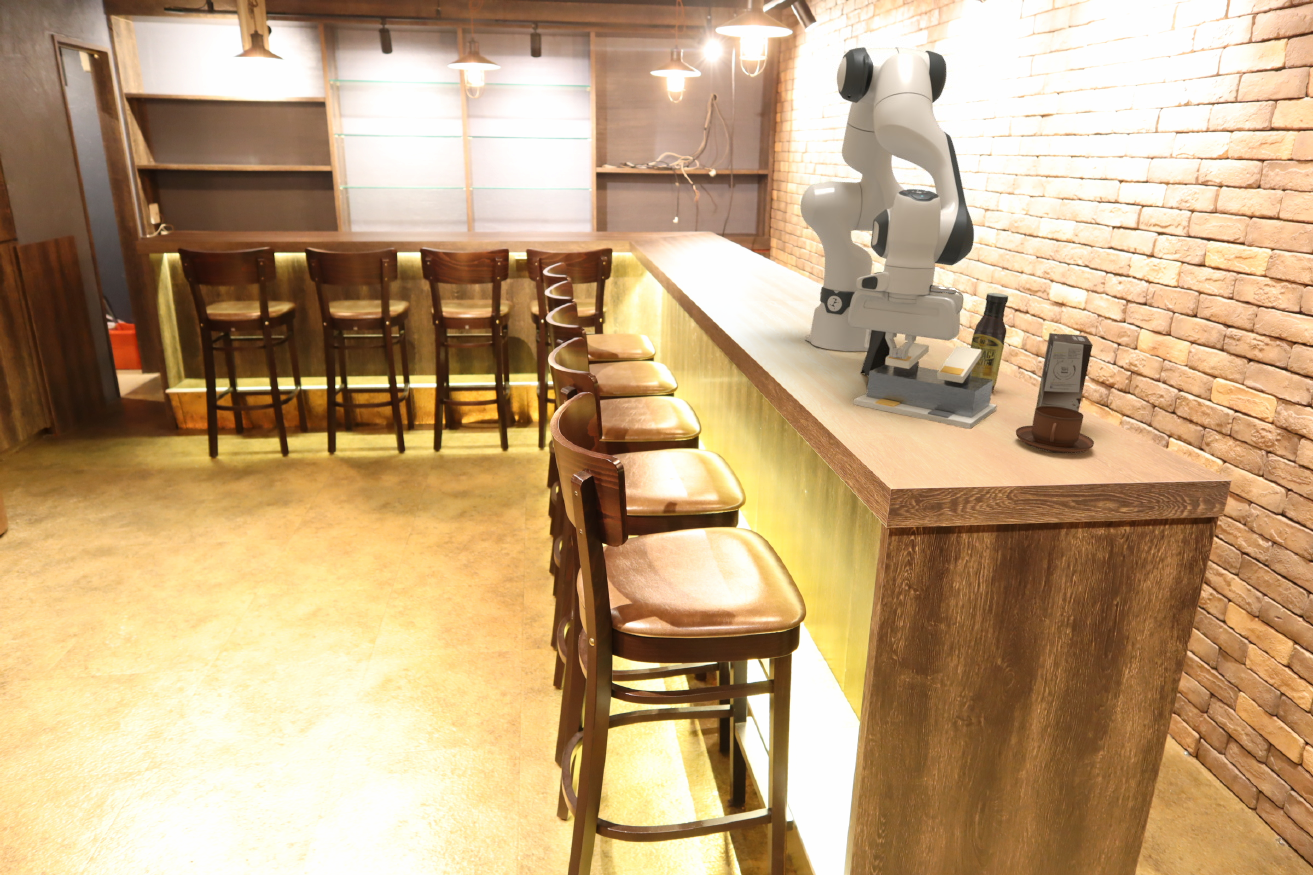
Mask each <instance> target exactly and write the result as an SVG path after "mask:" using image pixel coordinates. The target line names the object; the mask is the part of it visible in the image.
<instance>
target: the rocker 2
mask: <svg viewBox="0 0 1313 875" xmlns="http://www.w3.org/2000/svg"><path fill="white" fill-rule="evenodd" d="M981 351H982V350H980V349H974V348H970V347H966V346H961V345H956V346H955V347H954V349H953V350H952V352H951V353H950V354H949V356H947V358H946V360H945V361H944V362H943V364H942V365H941V366H940V368H939V369H938V370H939V371H938V372H937V379H942V380H948V381H953V382H959V383H963V382H964V380H965V379H966V377H967V376H968V375H969V373H970V372H971V370H972V369H973V367H974V366H975V364H976V363H977V362H978V360H979V359H980V357H981Z"/></svg>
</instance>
